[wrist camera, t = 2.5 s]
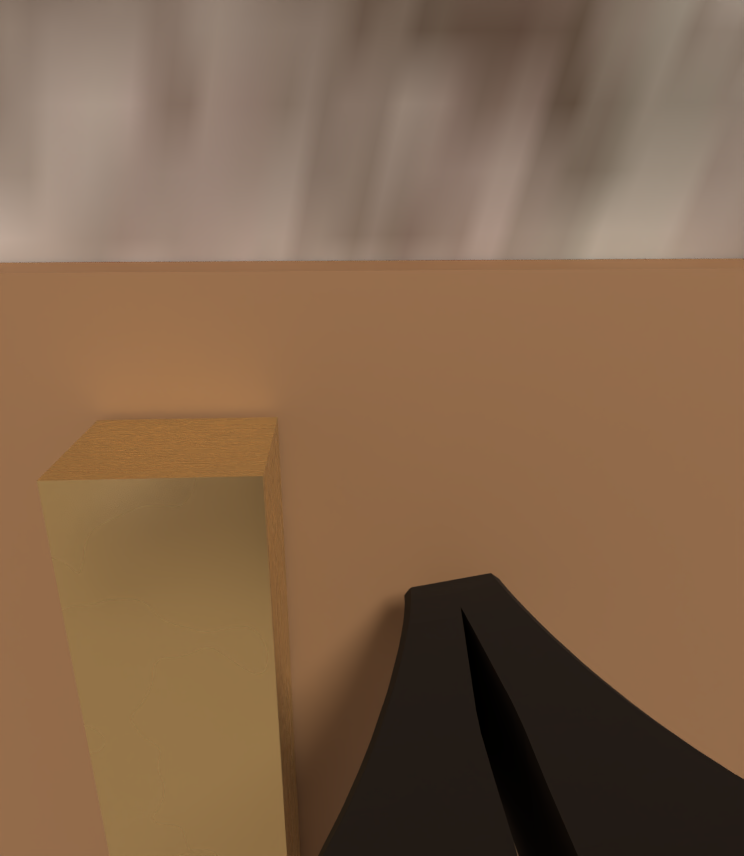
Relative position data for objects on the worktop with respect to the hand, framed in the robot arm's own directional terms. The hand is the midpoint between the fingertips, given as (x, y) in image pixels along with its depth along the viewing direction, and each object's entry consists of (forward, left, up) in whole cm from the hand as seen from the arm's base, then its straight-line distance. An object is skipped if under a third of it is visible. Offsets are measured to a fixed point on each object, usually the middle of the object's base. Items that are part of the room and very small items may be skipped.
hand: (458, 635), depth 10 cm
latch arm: (+4, +2, -1) cm, 5 cm away
